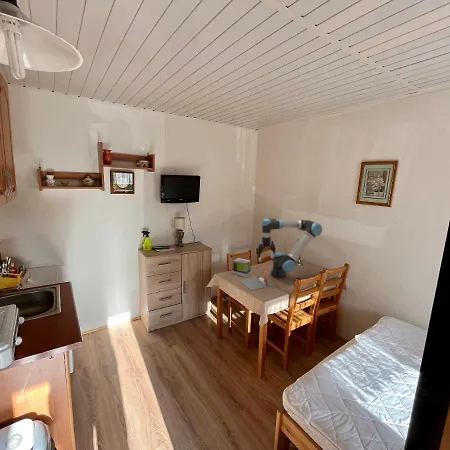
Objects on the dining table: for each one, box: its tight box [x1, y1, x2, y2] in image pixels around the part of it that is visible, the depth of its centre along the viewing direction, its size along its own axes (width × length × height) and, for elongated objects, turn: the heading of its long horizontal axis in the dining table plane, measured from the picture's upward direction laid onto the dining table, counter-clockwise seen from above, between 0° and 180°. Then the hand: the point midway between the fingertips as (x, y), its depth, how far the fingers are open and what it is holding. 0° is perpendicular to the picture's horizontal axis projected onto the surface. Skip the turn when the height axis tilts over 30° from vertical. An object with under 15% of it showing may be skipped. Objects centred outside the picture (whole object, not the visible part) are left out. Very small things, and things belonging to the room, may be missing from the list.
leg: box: [258, 269, 269, 285], centre depth 232 cm, size 11×4×13 cm, turn 25°
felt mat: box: [238, 275, 274, 292], centre depth 234 cm, size 24×22×1 cm
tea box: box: [232, 257, 252, 278], centre depth 253 cm, size 15×10×15 cm, turn 56°
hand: (266, 259), depth 228 cm, fingers open, 13 cm apart
